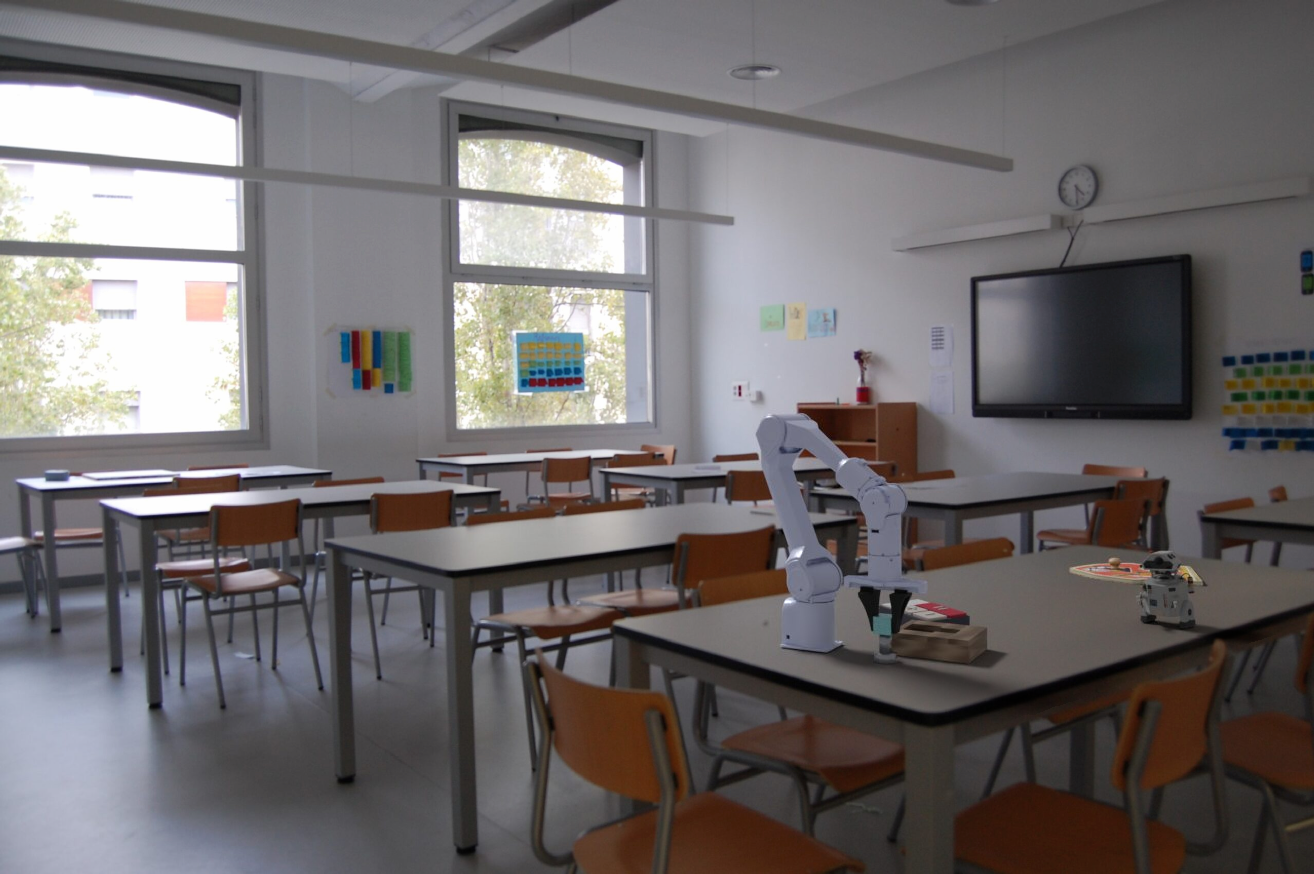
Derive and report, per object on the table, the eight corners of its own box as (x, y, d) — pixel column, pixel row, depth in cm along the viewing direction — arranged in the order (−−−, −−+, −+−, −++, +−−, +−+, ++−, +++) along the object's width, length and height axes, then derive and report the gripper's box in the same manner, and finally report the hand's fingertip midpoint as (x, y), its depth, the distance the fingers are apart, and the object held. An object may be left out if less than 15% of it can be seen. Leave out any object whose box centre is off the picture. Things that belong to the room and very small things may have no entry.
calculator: (929, 618, 197) (878, 601, 210) (928, 640, 198) (877, 622, 211) (971, 612, 202) (918, 596, 216) (970, 633, 203) (918, 616, 216)
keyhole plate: (890, 654, 183) (889, 632, 183) (912, 640, 193) (911, 619, 193) (968, 663, 175) (968, 640, 175) (987, 649, 185) (987, 627, 185)
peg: (870, 662, 177) (870, 616, 177) (878, 657, 181) (878, 612, 181) (892, 665, 175) (892, 618, 175) (900, 660, 179) (900, 614, 178)
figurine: (1125, 627, 201) (1125, 551, 201) (1154, 618, 208) (1154, 545, 208) (1172, 634, 194) (1172, 556, 194) (1200, 625, 201) (1200, 550, 201)
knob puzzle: (1204, 589, 242) (1204, 570, 242) (1070, 583, 253) (1070, 565, 253) (1188, 570, 269) (1188, 553, 269) (1068, 565, 280) (1068, 549, 280)
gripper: (836, 554, 178) (837, 631, 178) (917, 559, 170) (918, 640, 171) (851, 549, 184) (852, 623, 184) (931, 554, 176) (931, 632, 177)
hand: (885, 631), depth 178 cm, fingers closed on peg, 3 cm apart
